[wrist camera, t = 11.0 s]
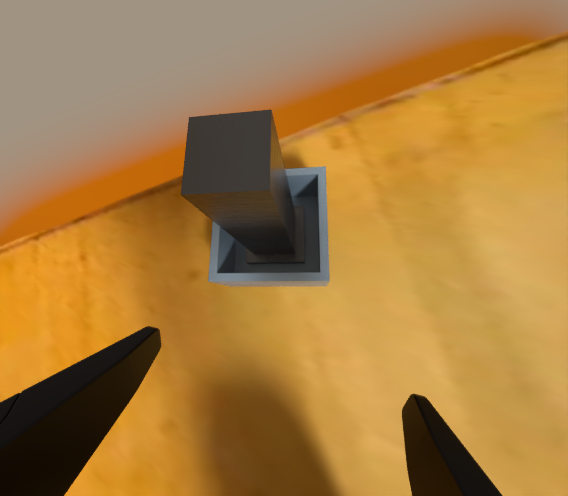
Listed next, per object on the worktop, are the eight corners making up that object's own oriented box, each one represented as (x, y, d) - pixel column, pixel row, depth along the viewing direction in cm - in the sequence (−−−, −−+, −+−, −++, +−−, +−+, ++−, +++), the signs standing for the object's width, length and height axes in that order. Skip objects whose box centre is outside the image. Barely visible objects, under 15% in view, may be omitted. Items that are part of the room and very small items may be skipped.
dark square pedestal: (304, 263, 22) (288, 206, 9) (248, 264, 22) (162, 211, 10) (304, 209, 23) (288, 93, 10) (250, 211, 24) (175, 105, 11)
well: (326, 286, 22) (329, 281, 17) (230, 286, 23) (208, 281, 18) (323, 194, 24) (325, 166, 19) (235, 198, 25) (216, 173, 20)
